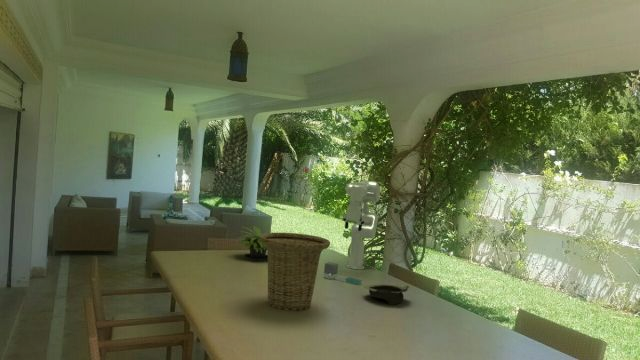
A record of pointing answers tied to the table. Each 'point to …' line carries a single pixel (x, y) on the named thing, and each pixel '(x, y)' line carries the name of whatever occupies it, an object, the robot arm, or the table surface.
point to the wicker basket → (292, 268)
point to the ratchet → (342, 278)
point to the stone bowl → (387, 292)
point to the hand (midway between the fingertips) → (353, 229)
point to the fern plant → (254, 247)
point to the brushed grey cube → (331, 268)
